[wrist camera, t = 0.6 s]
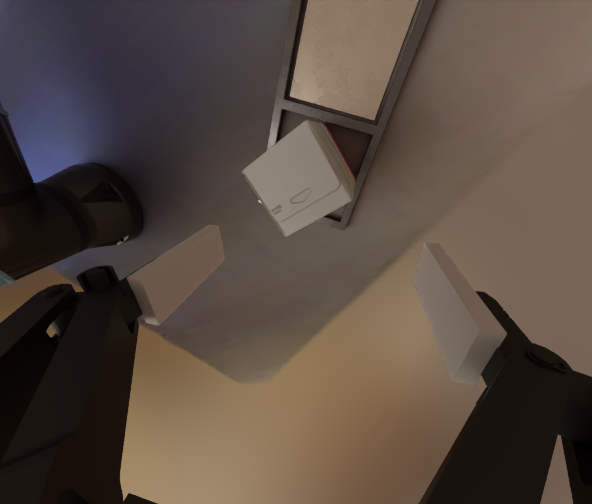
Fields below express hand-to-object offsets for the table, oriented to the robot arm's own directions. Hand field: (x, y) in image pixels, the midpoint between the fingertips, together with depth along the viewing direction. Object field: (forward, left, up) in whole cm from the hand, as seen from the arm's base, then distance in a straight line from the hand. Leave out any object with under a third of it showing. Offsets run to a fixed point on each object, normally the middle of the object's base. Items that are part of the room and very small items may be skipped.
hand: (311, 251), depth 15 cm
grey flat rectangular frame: (-4, +8, -21) cm, 22 cm away
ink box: (-4, +1, -21) cm, 21 cm away
